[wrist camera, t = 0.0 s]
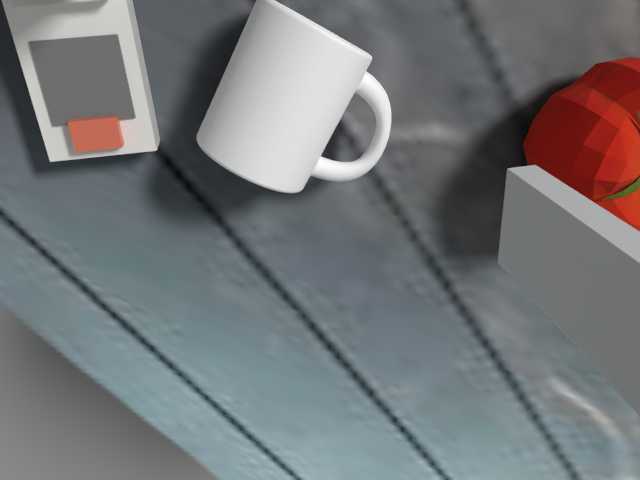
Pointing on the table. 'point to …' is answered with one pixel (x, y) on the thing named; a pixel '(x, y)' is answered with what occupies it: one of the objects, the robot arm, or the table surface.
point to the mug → (289, 102)
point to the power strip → (85, 76)
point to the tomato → (594, 137)
